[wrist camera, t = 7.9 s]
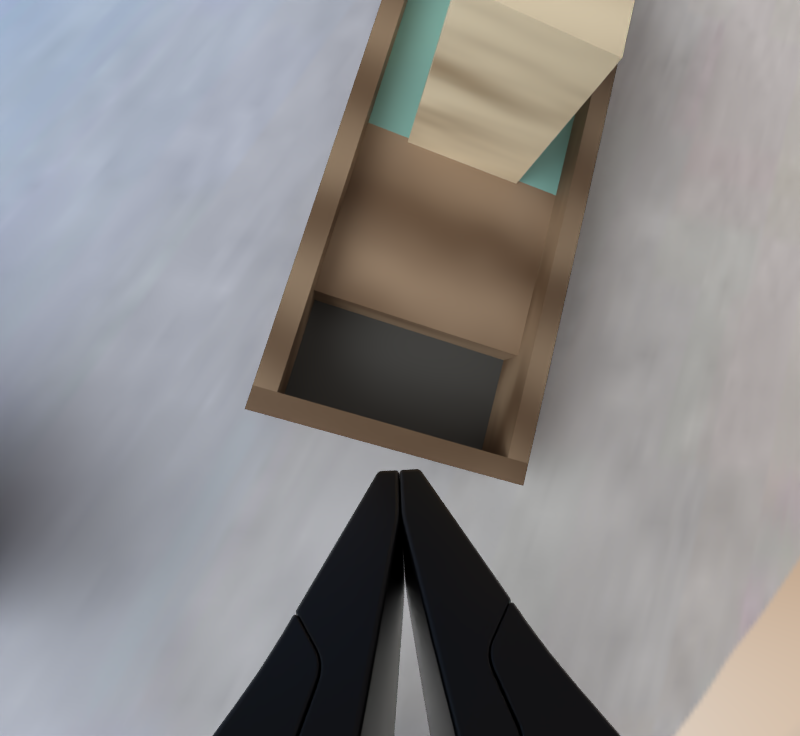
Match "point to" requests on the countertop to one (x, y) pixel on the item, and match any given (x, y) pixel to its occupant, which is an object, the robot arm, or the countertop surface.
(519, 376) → the box
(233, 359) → the countertop surface
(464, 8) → the maple block
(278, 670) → the robot arm
